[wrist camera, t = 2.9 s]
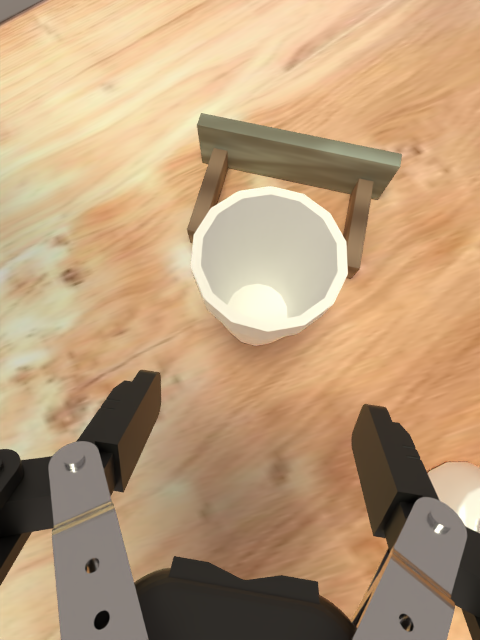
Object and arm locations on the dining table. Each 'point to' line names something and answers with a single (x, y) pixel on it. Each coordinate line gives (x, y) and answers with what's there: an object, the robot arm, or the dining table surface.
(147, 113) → the dining table surface
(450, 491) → the inkwell
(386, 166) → the dock
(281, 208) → the foam cup
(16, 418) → the dining table surface
